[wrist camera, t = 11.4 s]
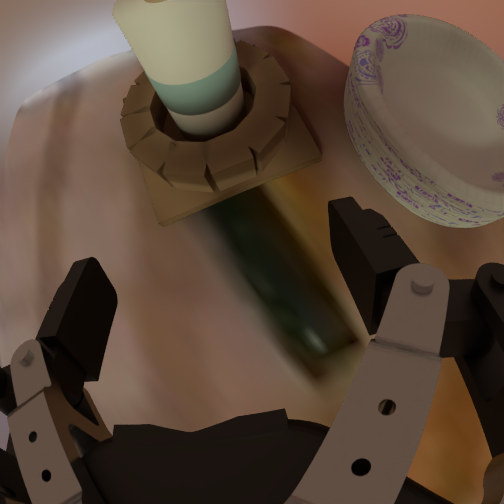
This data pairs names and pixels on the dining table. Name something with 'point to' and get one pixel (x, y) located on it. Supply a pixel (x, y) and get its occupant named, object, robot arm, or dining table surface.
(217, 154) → the holder
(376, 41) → the paper bowls
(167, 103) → the roll
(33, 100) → the dining table surface
